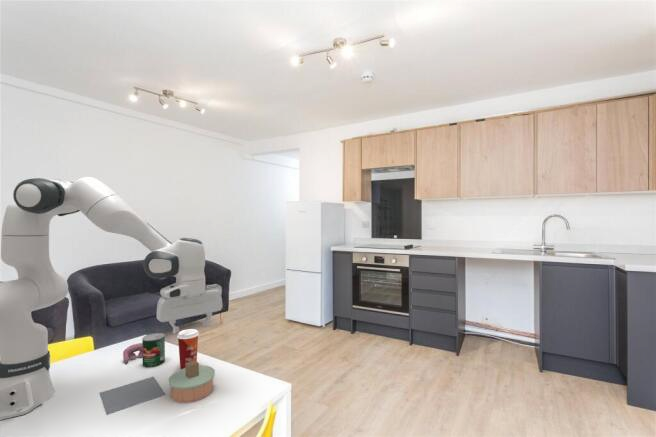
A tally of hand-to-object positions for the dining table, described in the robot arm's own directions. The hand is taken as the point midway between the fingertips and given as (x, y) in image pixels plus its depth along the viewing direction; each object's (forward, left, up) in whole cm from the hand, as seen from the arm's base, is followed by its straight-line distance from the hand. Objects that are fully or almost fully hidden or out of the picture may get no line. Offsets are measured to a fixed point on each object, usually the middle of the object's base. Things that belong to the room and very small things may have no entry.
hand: (191, 329), depth 106 cm
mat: (-15, +12, -21) cm, 28 cm away
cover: (0, 0, -16) cm, 16 cm away
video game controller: (-8, +42, -21) cm, 48 cm away
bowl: (0, 0, -21) cm, 21 cm away
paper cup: (+5, +19, -21) cm, 29 cm away
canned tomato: (-4, +32, -21) cm, 38 cm away
